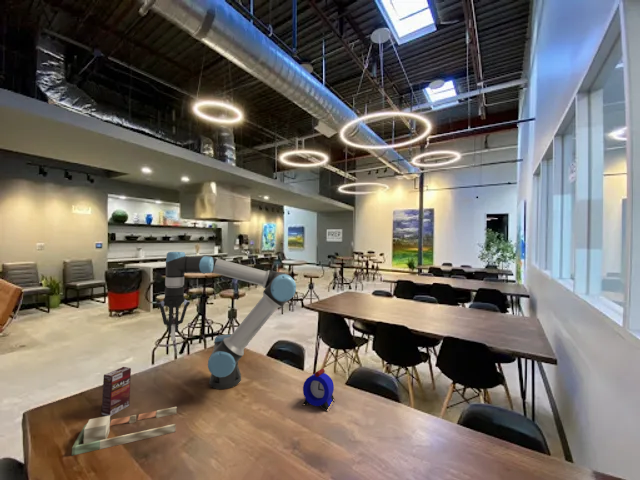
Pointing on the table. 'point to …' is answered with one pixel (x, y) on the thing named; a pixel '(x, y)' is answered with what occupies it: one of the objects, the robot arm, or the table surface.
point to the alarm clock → (318, 390)
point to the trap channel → (129, 437)
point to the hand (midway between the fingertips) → (172, 339)
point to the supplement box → (116, 391)
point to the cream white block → (97, 429)
